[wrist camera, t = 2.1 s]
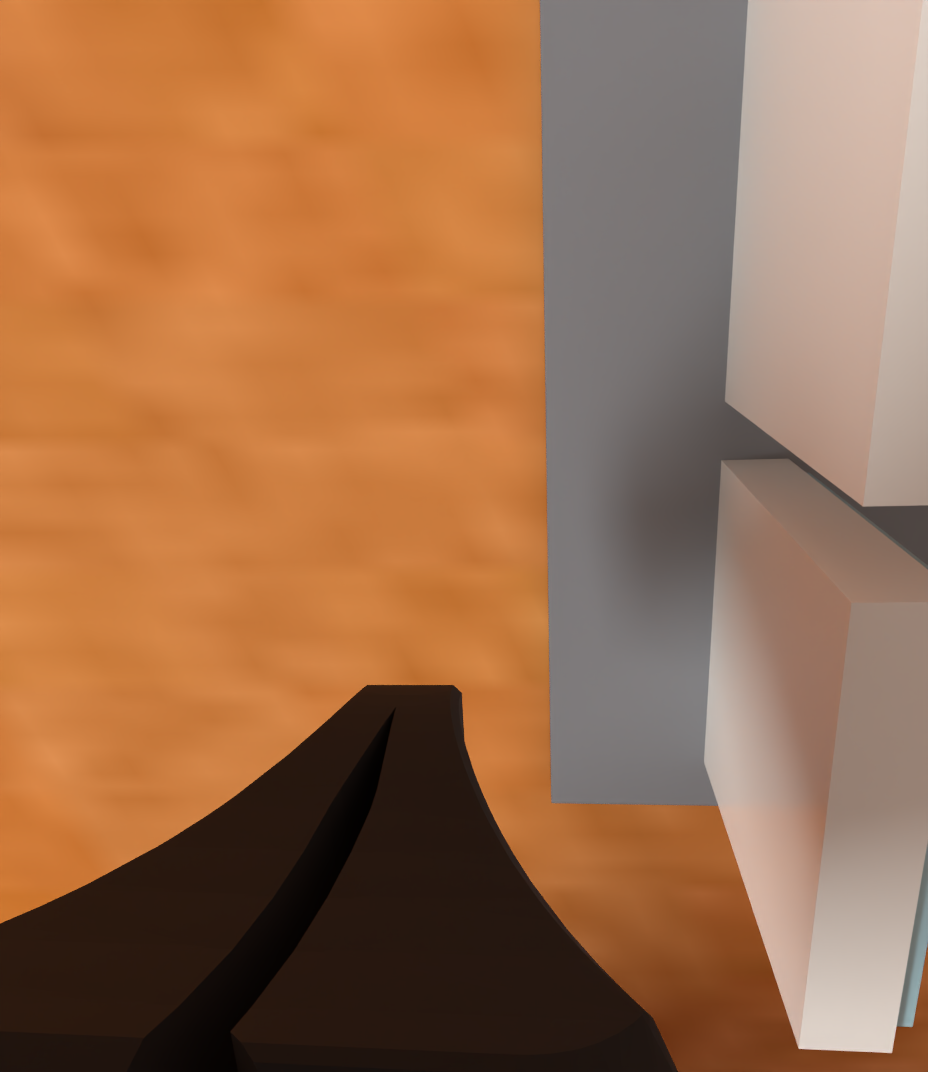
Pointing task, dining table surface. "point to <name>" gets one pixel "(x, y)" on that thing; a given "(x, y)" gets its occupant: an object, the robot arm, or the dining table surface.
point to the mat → (642, 384)
